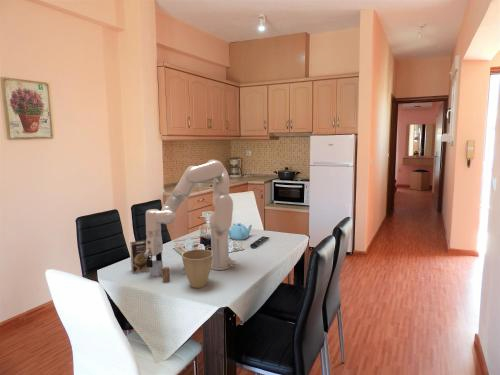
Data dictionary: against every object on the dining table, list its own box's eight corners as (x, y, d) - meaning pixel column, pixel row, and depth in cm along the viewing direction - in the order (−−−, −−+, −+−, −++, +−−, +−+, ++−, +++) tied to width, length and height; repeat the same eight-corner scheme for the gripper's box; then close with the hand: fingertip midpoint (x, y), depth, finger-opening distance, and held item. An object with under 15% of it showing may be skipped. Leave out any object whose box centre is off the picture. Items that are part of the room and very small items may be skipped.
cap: (163, 272, 196) (162, 260, 195) (158, 276, 191) (157, 264, 190) (154, 271, 197) (153, 260, 196) (149, 275, 192) (148, 263, 191)
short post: (189, 273, 194) (189, 266, 193) (187, 275, 191) (187, 268, 191) (185, 273, 194) (184, 266, 194) (183, 274, 192) (182, 267, 191)
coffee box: (133, 274, 195) (131, 244, 193) (131, 270, 200) (129, 241, 198) (150, 270, 199) (149, 242, 197) (148, 267, 205) (146, 239, 202)
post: (169, 280, 185) (169, 267, 184) (167, 282, 182) (166, 269, 181) (165, 280, 185) (164, 267, 184) (162, 282, 183) (162, 268, 182)
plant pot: (177, 288, 175) (175, 256, 172) (193, 277, 188) (192, 248, 186) (203, 293, 169) (202, 260, 166) (219, 281, 182) (218, 251, 180)
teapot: (224, 239, 257) (224, 224, 255) (233, 234, 270) (233, 220, 269) (244, 241, 251) (243, 226, 249) (252, 236, 264) (252, 221, 263)
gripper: (151, 237, 182) (152, 270, 184) (167, 229, 198) (168, 259, 200) (138, 236, 183) (139, 269, 186) (155, 228, 200) (156, 258, 202)
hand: (154, 264), depth 193 cm, fingers open, 9 cm apart
